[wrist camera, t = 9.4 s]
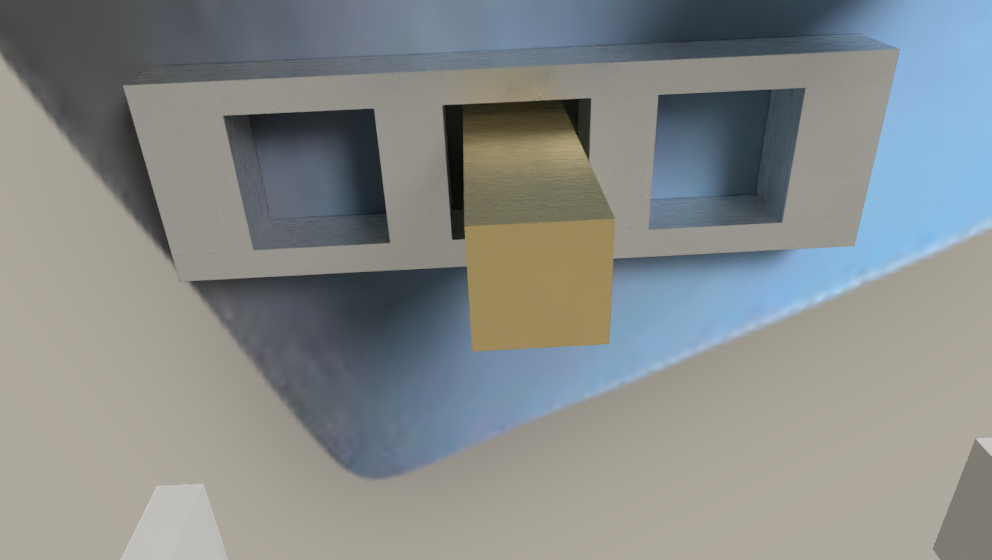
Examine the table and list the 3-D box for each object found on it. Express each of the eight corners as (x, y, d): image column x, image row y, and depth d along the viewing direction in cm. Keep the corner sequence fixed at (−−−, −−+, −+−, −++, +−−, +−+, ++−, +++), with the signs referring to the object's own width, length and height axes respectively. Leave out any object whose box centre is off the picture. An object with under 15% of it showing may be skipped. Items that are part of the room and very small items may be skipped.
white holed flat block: (154, 66, 28) (123, 85, 25) (859, 33, 29) (899, 49, 26) (202, 248, 32) (179, 281, 29) (822, 216, 33) (854, 246, 30)
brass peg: (462, 103, 29) (464, 226, 19) (560, 98, 29) (615, 218, 19) (468, 194, 31) (472, 351, 21) (559, 189, 31) (609, 344, 21)
